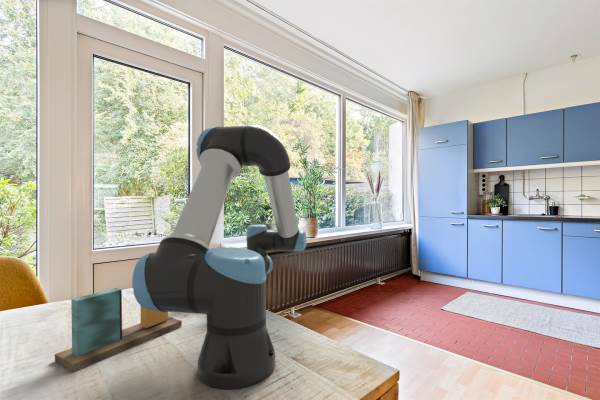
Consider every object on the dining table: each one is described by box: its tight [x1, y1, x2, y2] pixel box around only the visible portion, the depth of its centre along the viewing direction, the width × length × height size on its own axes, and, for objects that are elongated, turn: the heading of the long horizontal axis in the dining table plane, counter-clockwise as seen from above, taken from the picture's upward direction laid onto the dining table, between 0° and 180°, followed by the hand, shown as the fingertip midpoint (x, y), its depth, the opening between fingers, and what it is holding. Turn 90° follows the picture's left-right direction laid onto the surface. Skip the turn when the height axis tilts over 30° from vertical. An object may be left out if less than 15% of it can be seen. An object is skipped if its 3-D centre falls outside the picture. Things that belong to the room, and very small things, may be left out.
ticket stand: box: [54, 287, 182, 373], centre depth 73 cm, size 25×8×13 cm, turn 148°
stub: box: [140, 305, 169, 328], centre depth 79 cm, size 6×2×11 cm, turn 148°
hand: (188, 288), depth 88 cm, fingers open, 13 cm apart
